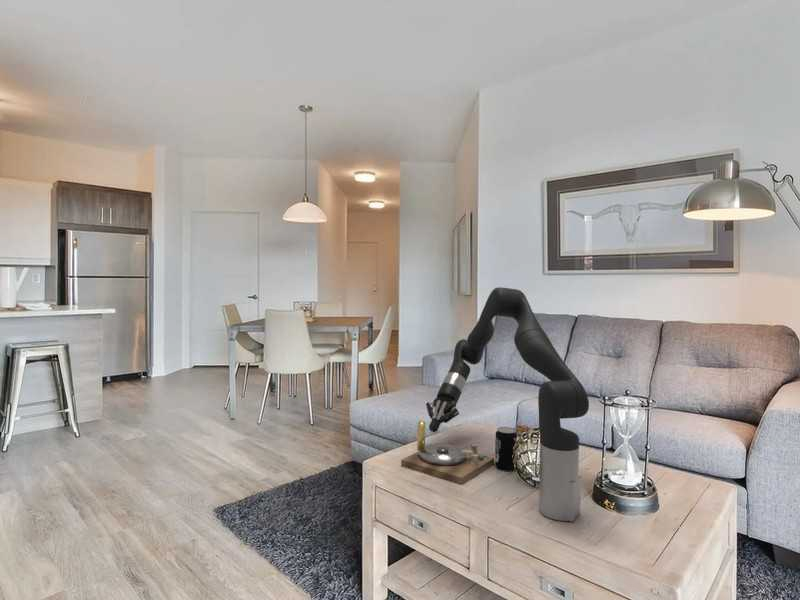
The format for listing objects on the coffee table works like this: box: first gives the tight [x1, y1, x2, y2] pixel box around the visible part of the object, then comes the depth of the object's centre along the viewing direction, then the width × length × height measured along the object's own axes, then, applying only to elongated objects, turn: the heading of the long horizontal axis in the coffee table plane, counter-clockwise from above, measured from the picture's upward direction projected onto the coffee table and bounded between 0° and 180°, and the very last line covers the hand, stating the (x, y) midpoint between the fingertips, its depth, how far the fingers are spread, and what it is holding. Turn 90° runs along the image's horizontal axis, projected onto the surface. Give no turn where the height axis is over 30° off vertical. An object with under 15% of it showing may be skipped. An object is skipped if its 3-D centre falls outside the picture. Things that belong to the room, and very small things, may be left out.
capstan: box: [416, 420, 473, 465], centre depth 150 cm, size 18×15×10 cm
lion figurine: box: [515, 423, 532, 438], centre depth 162 cm, size 15×5×9 cm, turn 72°
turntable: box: [400, 442, 495, 486], centre depth 149 cm, size 22×20×5 cm
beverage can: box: [494, 426, 518, 472], centre depth 148 cm, size 7×7×12 cm
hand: (432, 430), depth 158 cm, fingers closed
